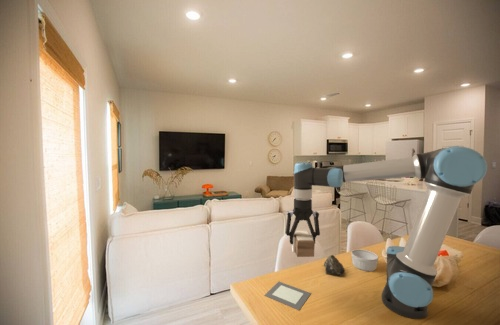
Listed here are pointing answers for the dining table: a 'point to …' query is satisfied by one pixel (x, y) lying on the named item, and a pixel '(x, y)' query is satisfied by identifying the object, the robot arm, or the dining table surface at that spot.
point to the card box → (304, 244)
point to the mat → (288, 295)
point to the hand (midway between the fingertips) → (302, 251)
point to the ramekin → (364, 259)
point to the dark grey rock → (333, 266)
